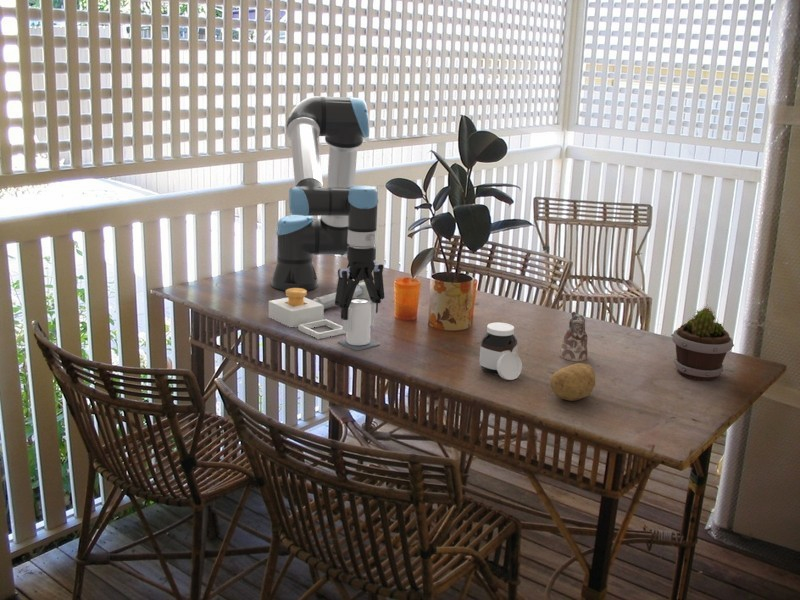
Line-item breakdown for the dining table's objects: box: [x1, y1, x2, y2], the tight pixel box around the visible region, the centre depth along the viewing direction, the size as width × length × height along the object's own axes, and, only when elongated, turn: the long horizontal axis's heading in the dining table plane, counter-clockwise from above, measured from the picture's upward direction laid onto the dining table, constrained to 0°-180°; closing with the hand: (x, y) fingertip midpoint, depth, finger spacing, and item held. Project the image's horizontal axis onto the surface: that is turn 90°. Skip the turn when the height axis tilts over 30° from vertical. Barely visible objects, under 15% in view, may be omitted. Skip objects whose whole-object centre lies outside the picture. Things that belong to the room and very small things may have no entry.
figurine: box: [559, 311, 588, 362], centre depth 235 cm, size 7×7×12 cm
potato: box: [550, 362, 596, 402], centre depth 208 cm, size 10×14×8 cm
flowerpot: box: [670, 304, 735, 381], centre depth 225 cm, size 14×15×20 cm
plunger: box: [285, 288, 308, 306], centre depth 255 cm, size 6×6×8 cm
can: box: [345, 297, 372, 346], centre depth 237 cm, size 6×6×12 cm
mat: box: [337, 339, 380, 352], centre depth 239 cm, size 8×8×1 cm
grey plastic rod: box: [312, 281, 371, 310], centre depth 271 cm, size 5×7×25 cm
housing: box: [268, 296, 347, 340], centre depth 252 cm, size 11×24×5 cm, turn 41°
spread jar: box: [479, 322, 523, 381], centre depth 221 cm, size 12×11×12 cm
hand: (359, 327), depth 237 cm, fingers open, 8 cm apart
